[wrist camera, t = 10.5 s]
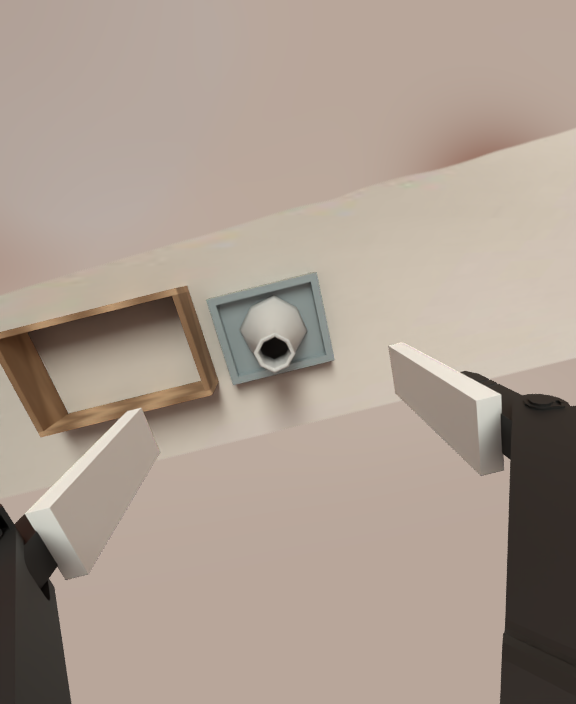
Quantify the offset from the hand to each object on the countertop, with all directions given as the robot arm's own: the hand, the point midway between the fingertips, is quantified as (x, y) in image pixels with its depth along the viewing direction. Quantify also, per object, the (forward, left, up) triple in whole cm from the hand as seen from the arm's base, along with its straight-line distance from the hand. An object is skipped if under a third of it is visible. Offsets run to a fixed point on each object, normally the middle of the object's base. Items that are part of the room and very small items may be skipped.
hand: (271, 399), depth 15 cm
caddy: (-17, -2, -20) cm, 26 cm away
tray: (0, 0, -20) cm, 20 cm away
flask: (0, 0, -19) cm, 19 cm away
